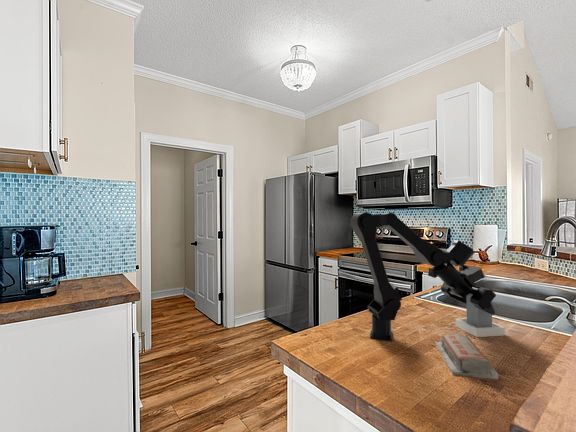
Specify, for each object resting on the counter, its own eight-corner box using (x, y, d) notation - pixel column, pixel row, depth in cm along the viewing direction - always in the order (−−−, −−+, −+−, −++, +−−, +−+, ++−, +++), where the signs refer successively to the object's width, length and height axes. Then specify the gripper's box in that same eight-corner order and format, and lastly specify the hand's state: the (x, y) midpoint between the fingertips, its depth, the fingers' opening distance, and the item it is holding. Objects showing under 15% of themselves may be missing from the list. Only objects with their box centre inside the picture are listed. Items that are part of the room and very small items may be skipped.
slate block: (477, 333, 96) (477, 292, 96) (466, 328, 101) (466, 289, 101) (492, 333, 97) (491, 292, 97) (480, 327, 102) (480, 288, 102)
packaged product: (500, 361, 69) (452, 356, 72) (500, 382, 69) (452, 376, 72) (472, 331, 87) (434, 328, 89) (472, 348, 87) (435, 345, 89)
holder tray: (476, 337, 94) (476, 329, 94) (455, 325, 103) (455, 318, 103) (504, 335, 95) (504, 327, 95) (481, 324, 105) (481, 317, 105)
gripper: (489, 263, 89) (523, 298, 91) (448, 254, 108) (477, 284, 109) (465, 290, 88) (499, 326, 90) (427, 277, 107) (457, 307, 108)
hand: (482, 309), depth 99 cm, fingers open, 9 cm apart
